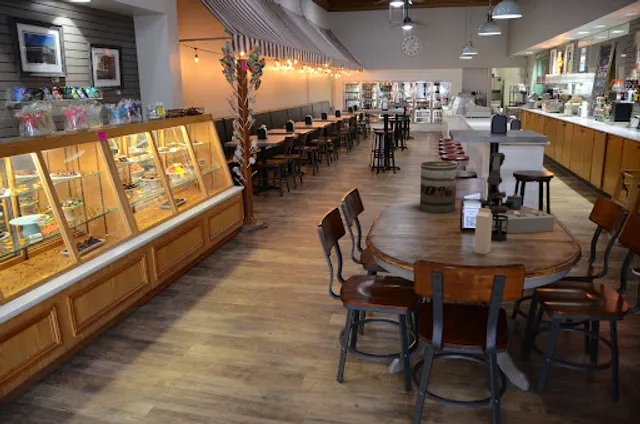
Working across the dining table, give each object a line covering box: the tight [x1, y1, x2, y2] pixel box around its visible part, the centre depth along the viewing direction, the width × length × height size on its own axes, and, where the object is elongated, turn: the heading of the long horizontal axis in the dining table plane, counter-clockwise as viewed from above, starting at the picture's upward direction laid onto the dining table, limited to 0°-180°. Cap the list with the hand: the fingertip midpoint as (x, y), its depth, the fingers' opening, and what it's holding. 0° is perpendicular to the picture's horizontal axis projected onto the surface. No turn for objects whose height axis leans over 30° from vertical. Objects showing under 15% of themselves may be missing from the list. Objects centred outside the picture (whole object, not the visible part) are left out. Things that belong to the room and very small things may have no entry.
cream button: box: [511, 210, 521, 217], centre depth 292 cm, size 5×4×4 cm
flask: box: [506, 192, 523, 211], centre depth 333 cm, size 9×3×11 cm, turn 87°
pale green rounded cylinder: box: [529, 209, 540, 216], centre depth 293 cm, size 5×4×4 cm
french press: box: [491, 196, 509, 242], centre depth 271 cm, size 12×9×23 cm
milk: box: [473, 207, 493, 255], centre depth 250 cm, size 6×6×22 cm
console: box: [492, 212, 555, 235], centre depth 287 cm, size 9×32×8 cm, turn 96°
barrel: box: [419, 160, 458, 215], centre depth 335 cm, size 22×22×30 cm
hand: (497, 217), depth 291 cm, fingers closed
